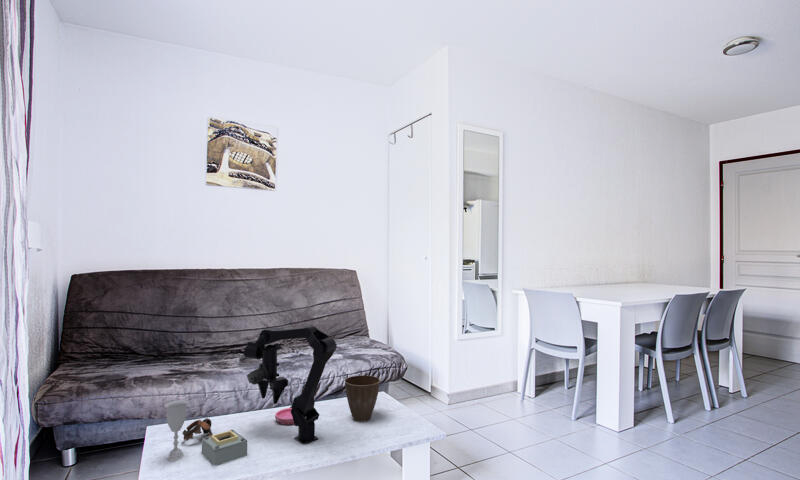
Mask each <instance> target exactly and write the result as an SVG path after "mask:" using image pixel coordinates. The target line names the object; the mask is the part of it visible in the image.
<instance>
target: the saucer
mask: <svg viewBox="0 0 800 480" xmlns="http://www.w3.org/2000/svg"><path fill="white" fill-rule="evenodd" d="M291 409H292V408H290V407H287V408H283V409H280V410H278V411H276V412H275V414H274V417H275V419H276V420H277V421H278V422H279V423H280V424H283V425H295V424H294V420H293V417H292V414H291Z"/></svg>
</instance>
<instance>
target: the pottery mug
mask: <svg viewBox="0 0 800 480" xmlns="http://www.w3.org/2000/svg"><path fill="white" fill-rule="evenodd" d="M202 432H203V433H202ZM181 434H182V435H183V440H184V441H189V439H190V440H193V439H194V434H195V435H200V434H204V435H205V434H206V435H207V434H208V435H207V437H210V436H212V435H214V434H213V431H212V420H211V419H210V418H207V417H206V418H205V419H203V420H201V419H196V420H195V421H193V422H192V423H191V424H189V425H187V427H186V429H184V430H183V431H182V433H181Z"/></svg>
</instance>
